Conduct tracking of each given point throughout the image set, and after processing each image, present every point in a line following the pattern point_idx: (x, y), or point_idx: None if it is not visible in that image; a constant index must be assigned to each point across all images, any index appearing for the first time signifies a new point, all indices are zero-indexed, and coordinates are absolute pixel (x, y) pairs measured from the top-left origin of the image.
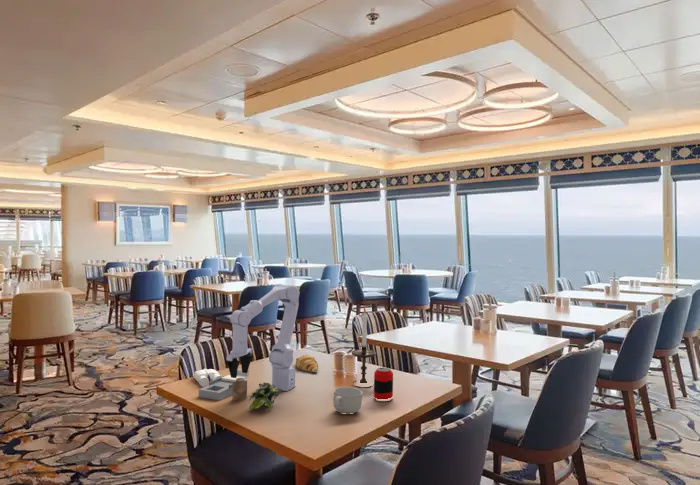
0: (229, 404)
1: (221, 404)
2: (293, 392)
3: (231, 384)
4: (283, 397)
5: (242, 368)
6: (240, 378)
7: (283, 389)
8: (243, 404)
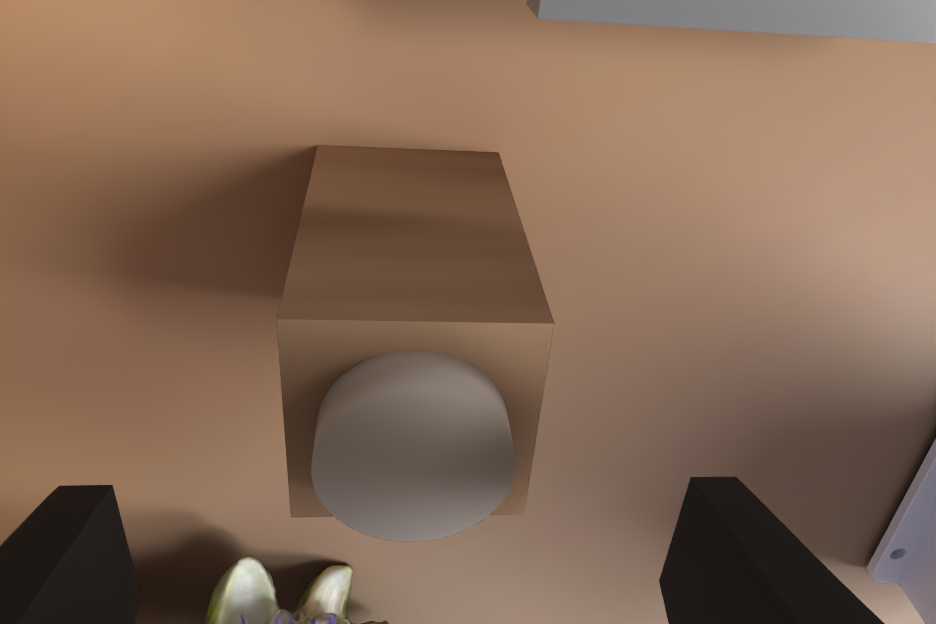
0: (97, 230)
1: (7, 109)
2: None
3: (605, 7)
4: (647, 614)
5: (745, 592)
6: (446, 467)
7: (894, 545)
8: (220, 396)
